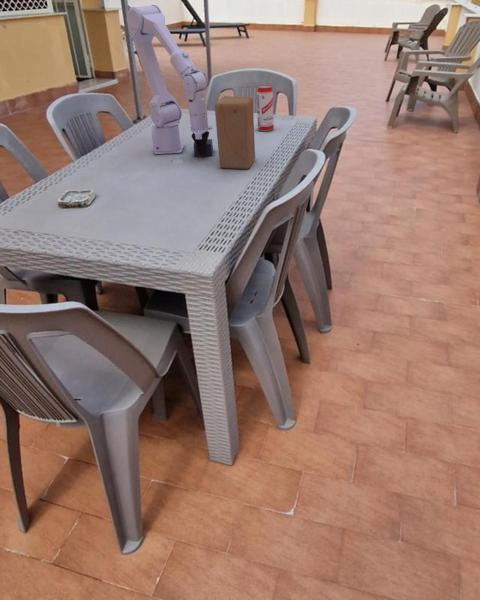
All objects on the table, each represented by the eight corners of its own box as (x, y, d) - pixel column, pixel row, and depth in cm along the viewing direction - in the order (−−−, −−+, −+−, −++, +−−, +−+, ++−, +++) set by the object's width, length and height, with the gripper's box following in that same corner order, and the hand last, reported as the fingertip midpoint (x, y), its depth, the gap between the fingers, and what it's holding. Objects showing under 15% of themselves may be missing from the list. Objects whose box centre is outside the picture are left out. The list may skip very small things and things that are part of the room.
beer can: (255, 129, 185) (253, 86, 175) (269, 126, 187) (268, 84, 177) (262, 133, 180) (260, 88, 171) (276, 130, 182) (275, 86, 173)
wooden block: (249, 170, 146) (246, 103, 135) (219, 169, 148) (213, 103, 137) (255, 159, 154) (253, 95, 143) (227, 158, 156) (222, 95, 145)
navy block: (194, 156, 159) (193, 145, 157) (196, 151, 164) (194, 139, 162) (212, 155, 159) (211, 144, 157) (213, 150, 164) (211, 139, 162)
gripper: (209, 118, 144) (213, 161, 152) (211, 107, 156) (215, 147, 163) (186, 119, 144) (191, 162, 152) (190, 108, 155) (195, 148, 163)
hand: (202, 154), depth 157 cm, fingers closed
